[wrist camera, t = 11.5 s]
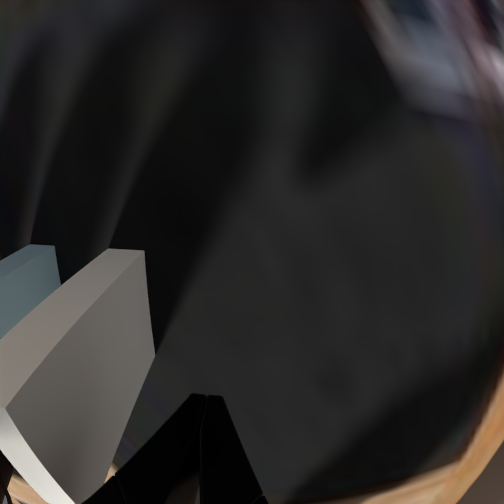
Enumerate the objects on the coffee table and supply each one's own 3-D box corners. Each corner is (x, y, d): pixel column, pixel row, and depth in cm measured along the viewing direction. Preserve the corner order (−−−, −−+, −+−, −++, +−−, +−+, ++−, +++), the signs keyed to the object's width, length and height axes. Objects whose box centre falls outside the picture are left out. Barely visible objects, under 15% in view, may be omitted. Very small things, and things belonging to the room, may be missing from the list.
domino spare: (144, 250, 11) (4, 408, 3) (155, 355, 13) (91, 519, 5) (108, 248, 11) (-43, 382, 3) (123, 350, 13) (45, 501, 5)
